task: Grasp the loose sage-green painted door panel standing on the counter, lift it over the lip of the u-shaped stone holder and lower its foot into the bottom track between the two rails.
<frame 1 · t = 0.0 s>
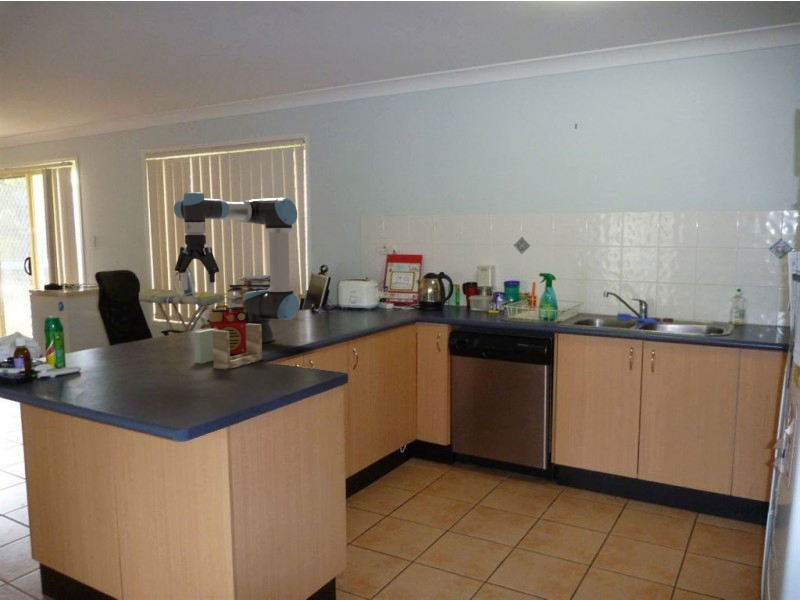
hand: (197, 290, 237), 28 cm above the worktop, fingers open, 13 cm apart
radio: (230, 353, 260), on the worktop
u-shaped stone holder: (238, 363, 240), on the worktop
door panel: (207, 360, 246), on the worktop
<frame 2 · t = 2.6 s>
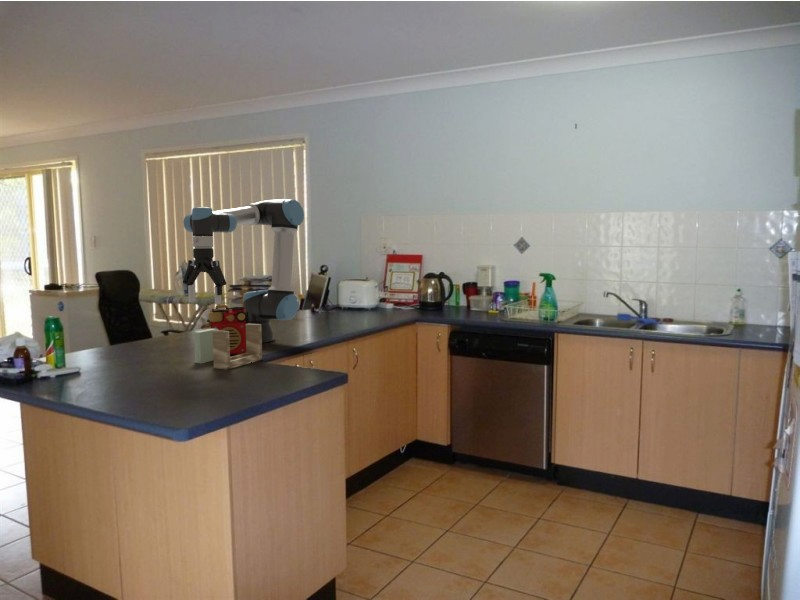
hand: (204, 302, 243), 23 cm above the worktop, fingers open, 13 cm apart
nothing on the worktop moved.
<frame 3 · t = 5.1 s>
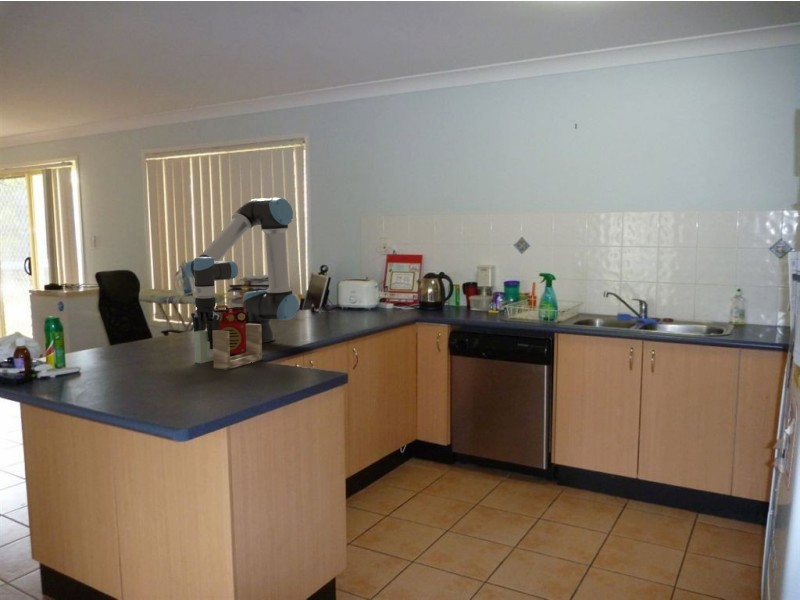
hand: (207, 356, 245), 2 cm above the worktop, fingers closed on door panel, 3 cm apart
door panel: (207, 360, 246), on the worktop, touching gripper
everything else where it was.
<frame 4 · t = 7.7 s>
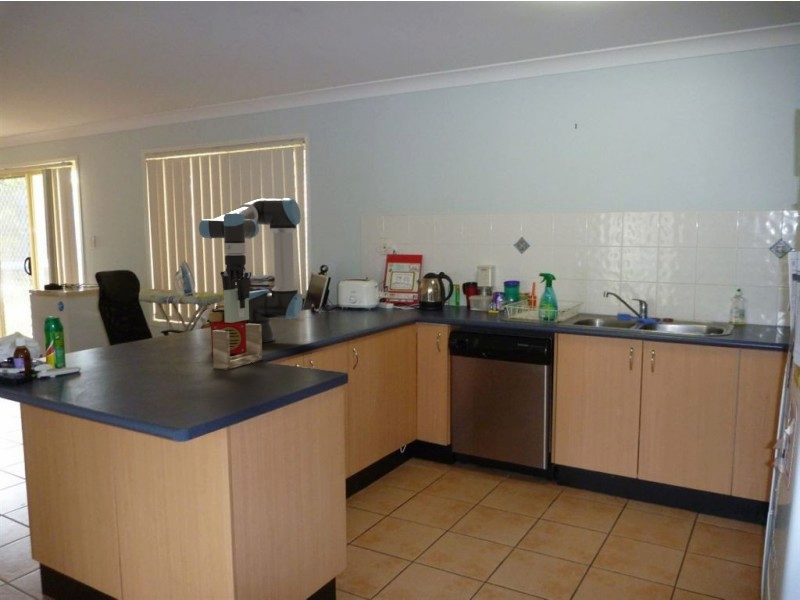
hand: (237, 316, 238), 18 cm above the worktop, fingers closed on door panel, 3 cm apart
door panel: (237, 320, 238), point 17 cm above the worktop, touching gripper
everything else where it was.
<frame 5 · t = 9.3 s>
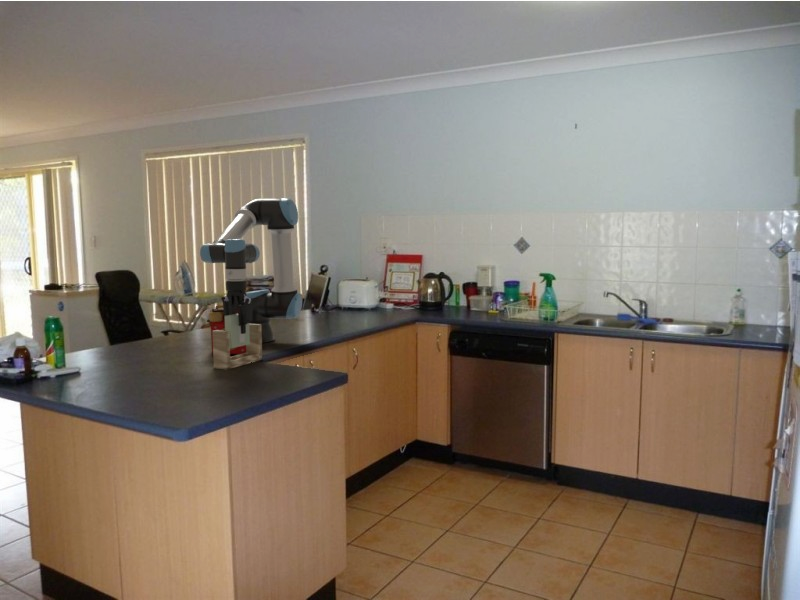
hand: (237, 341, 239), 9 cm above the worktop, fingers closed on door panel, 3 cm apart
door panel: (237, 345, 239), point 7 cm above the worktop, touching gripper
everything else where it was.
when the fingers open (3 cm above the worktop, at t = 10.6 s): door panel stays where it is, resting on u-shaped stone holder.
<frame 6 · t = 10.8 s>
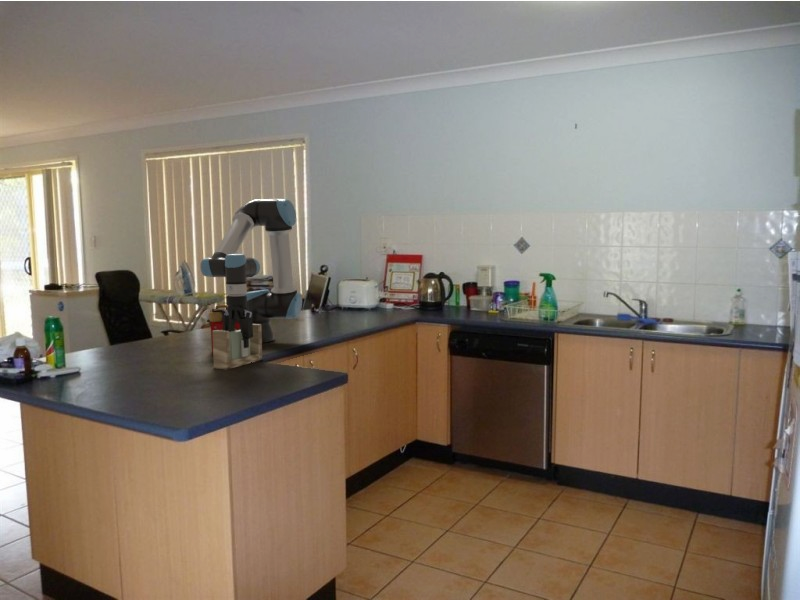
hand: (238, 355, 239), 3 cm above the worktop, fingers open, 5 cm apart
door panel: (238, 362, 240), point 1 cm above the worktop, touching u-shaped stone holder
everything else where it was.
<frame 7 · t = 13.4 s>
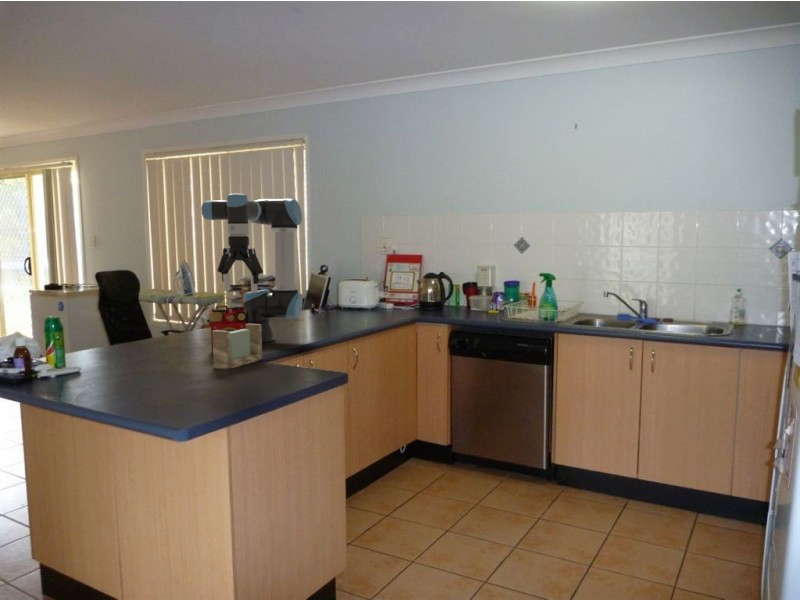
hand: (240, 291, 238), 27 cm above the worktop, fingers open, 13 cm apart
nothing on the worktop moved.
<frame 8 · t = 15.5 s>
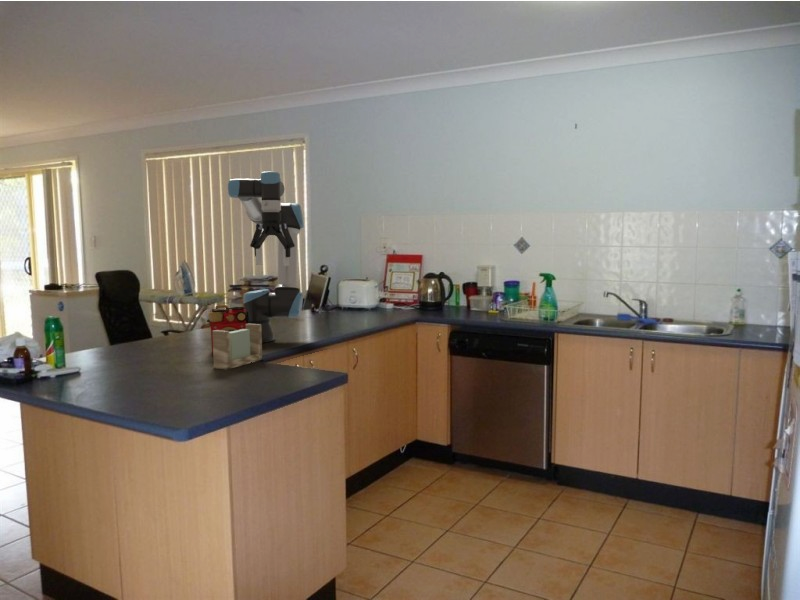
hand: (272, 265, 250), 37 cm above the worktop, fingers open, 13 cm apart
nothing on the worktop moved.
at the end: door panel 0.0 cm off-centre on the u-shaped stone holder, point 0.6 cm above the u-shaped stone holder's base; door panel tilted 0°; the gripper is holding nothing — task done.
